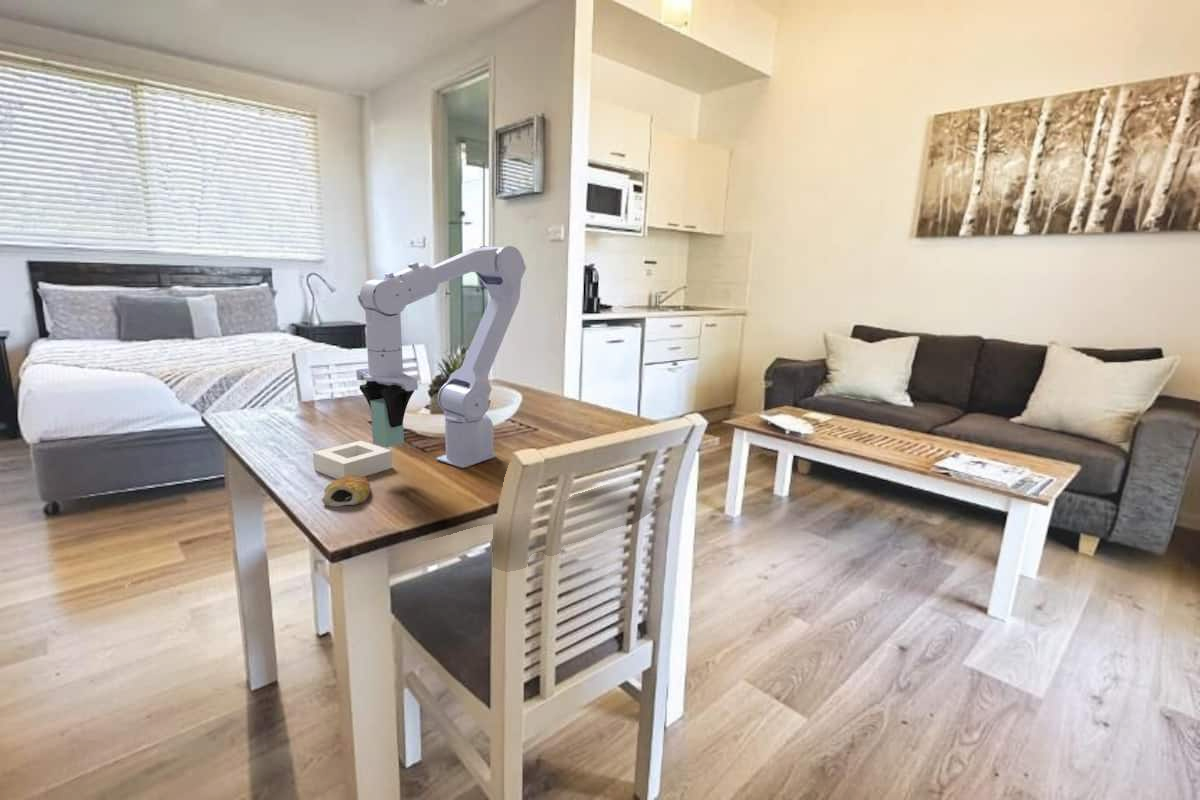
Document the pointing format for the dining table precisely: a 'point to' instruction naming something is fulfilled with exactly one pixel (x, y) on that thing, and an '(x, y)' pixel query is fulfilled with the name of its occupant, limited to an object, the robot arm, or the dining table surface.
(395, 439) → the post
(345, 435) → the dining table surface
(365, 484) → the pastry
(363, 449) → the well
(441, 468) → the dining table surface
